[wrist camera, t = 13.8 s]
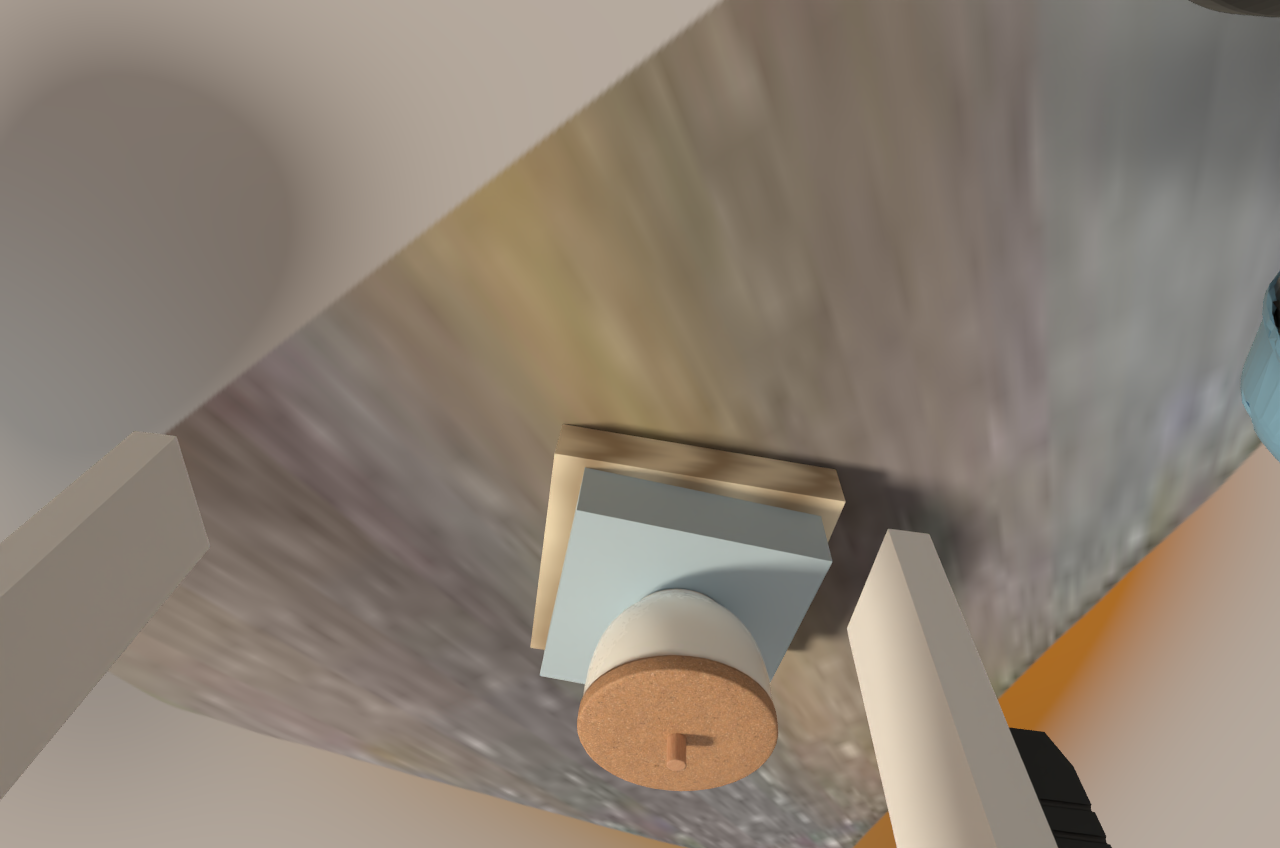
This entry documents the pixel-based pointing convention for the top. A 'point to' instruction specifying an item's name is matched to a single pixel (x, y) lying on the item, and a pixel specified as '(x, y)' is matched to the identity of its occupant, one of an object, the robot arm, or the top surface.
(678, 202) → the top surface
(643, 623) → the lidded jar
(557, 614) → the tower top
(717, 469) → the tower base
